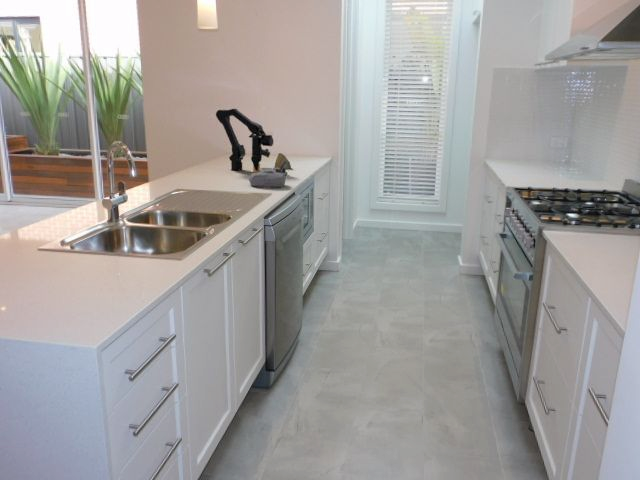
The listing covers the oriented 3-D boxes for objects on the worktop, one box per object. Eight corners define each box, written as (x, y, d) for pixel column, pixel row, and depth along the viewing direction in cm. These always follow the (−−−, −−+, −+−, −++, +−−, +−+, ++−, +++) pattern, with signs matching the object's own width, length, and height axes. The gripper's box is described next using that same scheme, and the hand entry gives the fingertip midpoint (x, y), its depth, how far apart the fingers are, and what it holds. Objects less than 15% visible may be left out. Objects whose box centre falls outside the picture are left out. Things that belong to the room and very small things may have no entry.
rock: (294, 164, 373) (281, 161, 376) (292, 155, 366) (279, 151, 369) (287, 175, 367) (274, 172, 371) (285, 166, 360) (271, 163, 364)
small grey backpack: (287, 184, 313) (252, 182, 315) (287, 169, 311) (252, 168, 313) (282, 189, 299) (245, 187, 301) (282, 174, 297) (245, 172, 298)
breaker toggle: (277, 170, 342) (284, 160, 338) (280, 169, 344) (287, 160, 341) (279, 172, 342) (286, 162, 338) (282, 171, 344) (289, 161, 340)
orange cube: (253, 172, 351) (253, 164, 349) (253, 171, 354) (253, 163, 353) (259, 172, 351) (259, 164, 350) (259, 171, 355) (259, 163, 353)
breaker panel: (260, 175, 339) (260, 168, 338) (260, 171, 355) (260, 164, 354) (285, 175, 340) (286, 169, 339) (285, 171, 357) (285, 165, 356)
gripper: (269, 147, 340) (269, 172, 344) (269, 143, 358) (269, 168, 362) (251, 146, 339) (251, 172, 343) (252, 143, 357) (252, 167, 361)
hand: (256, 170), depth 352 cm, fingers closed on orange cube, 4 cm apart
